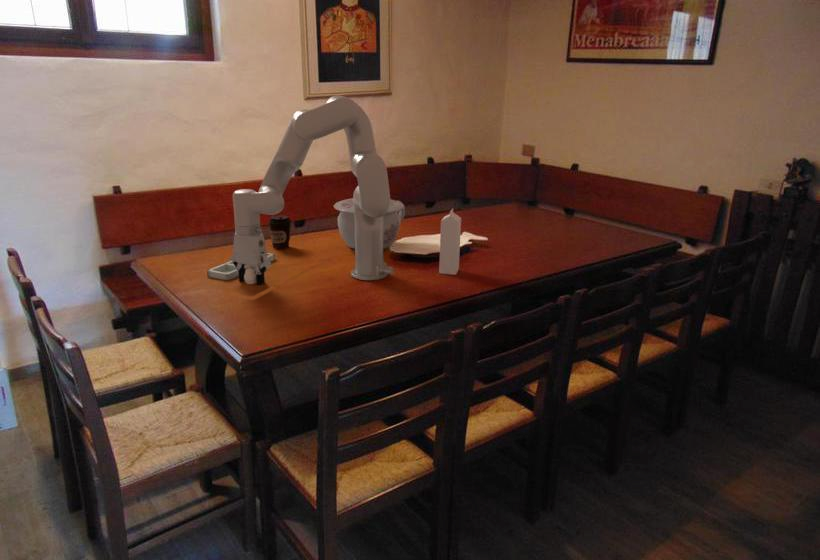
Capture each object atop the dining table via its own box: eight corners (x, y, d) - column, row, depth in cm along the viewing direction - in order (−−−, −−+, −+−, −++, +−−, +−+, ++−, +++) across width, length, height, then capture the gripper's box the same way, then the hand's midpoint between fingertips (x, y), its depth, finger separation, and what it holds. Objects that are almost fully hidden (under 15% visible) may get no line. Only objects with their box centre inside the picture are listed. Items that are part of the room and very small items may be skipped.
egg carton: (237, 255, 219) (237, 247, 218) (275, 262, 212) (274, 254, 211) (188, 275, 198) (187, 266, 197) (228, 283, 191) (227, 274, 190)
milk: (438, 273, 204) (440, 211, 196) (442, 268, 209) (444, 207, 202) (456, 275, 203) (458, 212, 195) (459, 269, 208) (461, 208, 201)
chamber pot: (331, 256, 220) (329, 202, 213) (337, 236, 246) (336, 187, 238) (406, 257, 221) (407, 203, 214) (404, 237, 247) (405, 188, 240)
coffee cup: (287, 253, 222) (285, 220, 218) (266, 252, 224) (264, 218, 219) (295, 247, 230) (294, 215, 226) (276, 245, 232) (274, 213, 227)
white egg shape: (262, 283, 191) (261, 265, 189) (253, 288, 187) (251, 269, 185) (251, 281, 193) (249, 263, 191) (241, 285, 189) (239, 267, 187)
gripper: (277, 230, 184) (281, 283, 190) (234, 223, 191) (238, 275, 197) (262, 235, 177) (266, 291, 183) (217, 228, 184) (223, 282, 190)
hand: (252, 282), depth 190 cm, fingers open, 6 cm apart
